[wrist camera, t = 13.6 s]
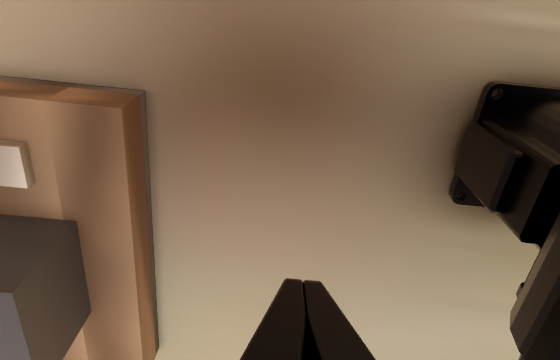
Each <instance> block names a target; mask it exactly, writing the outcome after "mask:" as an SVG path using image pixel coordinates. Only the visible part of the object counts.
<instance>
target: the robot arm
mask: <svg viewBox="0 0 560 360" xmlns="http://www.w3.org/2000/svg"><path fill="white" fill-rule="evenodd" d="M496 89H499V93H498V95H497V96H495V97H492V93H493V92H494V90H496ZM454 171H455V172H456V174H455V177H454V180H453V183H452V186H451V189H450V193H449V195H450V198H451V199H452V201H453V202H455V203H456V204H461V205H471V206H482V207H486V208H487V209H488V210H489V211H490V212H491V213H496V214H497V215H498V216H499V217H500V218H501V219H502V221H503V222H504V223H505V224H506V225H507V226H508V227H509V228H510V230H511V231H512V232H513V233H514V234H515V235H516V236H517V237H518V238H519V240H520V241H521V242H524V243H533V244H535V245H536V247H537V248H538V249H539V250H540V252H539V254H538V256H537V258H536V260H535V262H534V264H533V266H532V268H531V270H530V272H529V274H528V276H527V278H526V280H525V282H524V283H521V284H520V286H519V288H518V290H517V293H516V295H517V300H516V302H515V304H514V306H513V308H512V310H511V316H510V330H511V333H512V335H513V338H514V340H515V343H516V345H517V348H518V350H519V352H520V353H521V355H520V357H519V360H560V88H554V87H544V86H535V85H526V84H516V83H507V82H492V83H490V84H488V85H487V86H486V87H485V89H484V91H483V94H482V97H481V100H480V103H479V106H478V109H477V112H476V115H475V118H474V121H473V123H471V124H470V125H469V126H468V128H467V131H466V134H465V137H464V140H463V143H462V146H461V149H460V152H459V155H458V158H457V161H456V164H455V168H454ZM460 192H463V194H462V195H461V196H459V197H457V195H458V193H460ZM240 360H376V359H375V358H374V357H373V355H372V354H371V352H370V351H369V349H368V348H367V347H366V345H365V344H364V342H363V341H362V339H361V338H360V337H359V335H358V334H357V332H356V331H355V330H354V328H353V327H352V325H351V324H350V322H349V321H348V320H347V318H346V317H345V315H344V314H343V312H342V311H341V310H340V308H339V307H338V305H337V304H336V302H335V301H334V300H333V298H332V297H331V295H330V294H329V292H328V291H327V290H326V288H325V287H324V285H323V284H322V283H321V282H320V281H312V280H305V281H304V282H302V280H300V279H290V278H287V279H285V280H284V282H283V283H282V285H281V287H280V289H279V290H278V292H277V294H276V296H275V298H274V299H273V301H272V303H271V305H270V307H269V308H268V310H267V312H266V314H265V316H264V317H263V319H262V321H261V323H260V325H259V326H258V328H257V330H256V332H255V333H254V335H253V337H252V339H251V341H250V342H249V344H248V346H247V348H246V350H245V351H244V353H243V355H242V357H241V359H240Z"/></svg>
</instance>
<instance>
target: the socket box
mask: <svg viewBox="0 0 560 360" xmlns="http://www.w3.org/2000/svg"><path fill="white" fill-rule="evenodd" d="M0 214H5V215H17V216H28V217H39V218H50V219H62V220H73V221H77V227H78V233H79V239H80V245H81V251H82V257H83V263H84V269H85V275H86V281H87V287H88V293H89V299H90V305H91V311H92V312H91V313H90V315H89V317H88V318H87V320H86V322H85V323H84V325H83V327H82V328H81V330H80V332H79V333H78V335H77V337H76V338H75V340H74V342H73V343H72V345H71V347H70V348H69V350H68V352H67V353H66V355H65V357H64V358H63V360H154V359H155V356H156V354H157V351H158V348H159V339H158V321H157V303H156V285H155V268H154V250H153V232H152V214H151V196H150V178H149V160H148V142H147V124H146V106H145V91H142V90H132V89H122V88H113V87H103V86H93V85H84V84H74V83H64V82H55V81H45V80H35V79H26V78H16V77H6V76H0Z"/></svg>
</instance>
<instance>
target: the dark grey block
mask: <svg viewBox="0 0 560 360" xmlns="http://www.w3.org/2000/svg"><path fill="white" fill-rule="evenodd" d="M91 312H92V311H91V305H90V299H89V293H88V287H87V281H86V275H85V269H84V263H83V257H82V251H81V245H80V239H79V233H78V227H77V221H73V220H62V219H50V218H39V217H28V216H17V215H5V214H0V360H63V358H64V357H65V355H66V353H67V352H68V350H69V348H70V347H71V345H72V343H73V342H74V340H75V338H76V337H77V335H78V333H79V332H80V330H81V328H82V327H83V325H84V323H85V322H86V320H87V318H88V317H89V315H90V313H91Z"/></svg>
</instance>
